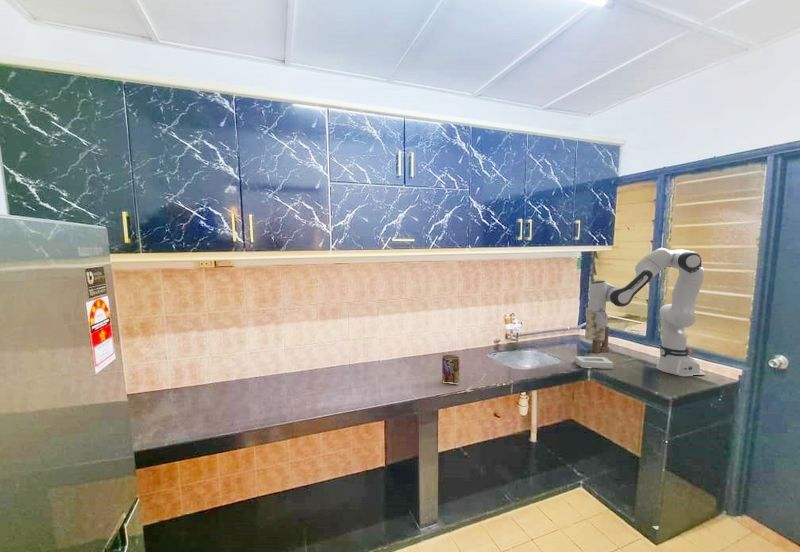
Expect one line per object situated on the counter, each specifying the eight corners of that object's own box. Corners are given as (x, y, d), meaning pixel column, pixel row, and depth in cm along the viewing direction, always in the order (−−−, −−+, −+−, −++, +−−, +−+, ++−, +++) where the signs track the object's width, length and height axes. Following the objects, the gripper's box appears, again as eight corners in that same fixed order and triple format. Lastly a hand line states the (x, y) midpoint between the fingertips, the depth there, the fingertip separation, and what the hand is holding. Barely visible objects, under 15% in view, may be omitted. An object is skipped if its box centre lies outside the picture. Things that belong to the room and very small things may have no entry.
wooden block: (591, 351, 231) (593, 326, 229) (604, 350, 234) (606, 325, 232) (595, 353, 228) (597, 327, 226) (608, 352, 230) (610, 326, 228)
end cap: (604, 363, 210) (604, 357, 209) (612, 369, 200) (613, 363, 199) (574, 362, 211) (574, 356, 211) (581, 368, 202) (581, 362, 201)
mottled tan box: (601, 338, 205) (603, 313, 203) (604, 340, 202) (606, 314, 200) (584, 338, 206) (586, 312, 204) (587, 339, 203) (589, 314, 201)
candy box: (459, 382, 182) (459, 355, 180) (458, 385, 178) (458, 358, 176) (443, 380, 185) (443, 353, 183) (441, 383, 181) (442, 356, 179)
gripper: (611, 311, 191) (609, 334, 192) (594, 304, 211) (592, 325, 213) (600, 310, 191) (598, 334, 193) (584, 303, 212) (582, 325, 213)
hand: (595, 329), depth 203 cm, fingers closed on mottled tan box, 3 cm apart
